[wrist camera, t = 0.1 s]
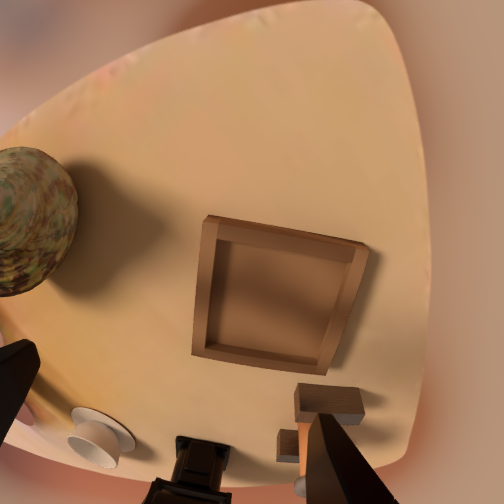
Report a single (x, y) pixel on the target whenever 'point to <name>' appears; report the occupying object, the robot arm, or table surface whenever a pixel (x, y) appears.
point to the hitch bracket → (319, 401)
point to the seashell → (33, 218)
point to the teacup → (98, 438)
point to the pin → (302, 458)
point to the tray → (273, 295)
